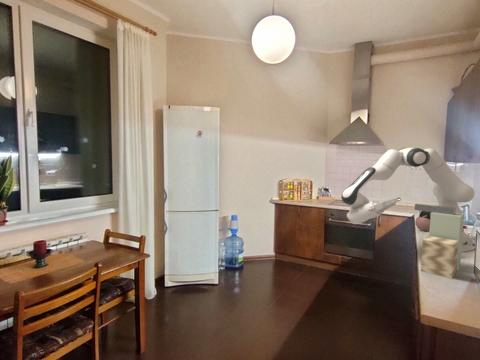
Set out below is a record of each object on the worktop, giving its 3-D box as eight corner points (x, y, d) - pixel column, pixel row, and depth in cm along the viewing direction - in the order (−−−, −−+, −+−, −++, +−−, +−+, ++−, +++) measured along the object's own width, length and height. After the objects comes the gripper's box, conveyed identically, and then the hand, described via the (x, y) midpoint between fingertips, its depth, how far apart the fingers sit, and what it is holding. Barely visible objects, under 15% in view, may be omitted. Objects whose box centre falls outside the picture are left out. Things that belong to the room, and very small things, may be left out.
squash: (445, 218, 242) (431, 203, 247) (443, 221, 231) (428, 206, 236) (428, 227, 250) (415, 212, 255) (426, 231, 238) (412, 216, 243)
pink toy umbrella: (437, 231, 220) (438, 216, 219) (429, 233, 213) (430, 217, 212) (419, 228, 229) (420, 213, 229) (411, 230, 223) (412, 214, 222)
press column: (427, 264, 150) (430, 212, 148) (431, 259, 157) (435, 210, 155) (456, 271, 142) (460, 216, 140) (460, 265, 149) (464, 213, 147)
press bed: (420, 270, 141) (423, 239, 140) (426, 265, 148) (428, 235, 147) (451, 278, 133) (454, 245, 132) (455, 272, 140) (458, 240, 139)
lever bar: (455, 213, 147) (456, 207, 147) (453, 215, 143) (454, 208, 143) (416, 209, 159) (416, 203, 159) (413, 210, 155) (414, 204, 155)
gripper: (364, 205, 165) (388, 195, 156) (377, 202, 180) (400, 192, 171) (369, 216, 163) (394, 206, 154) (382, 212, 178) (406, 202, 169)
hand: (397, 199), depth 163 cm, fingers open, 8 cm apart
